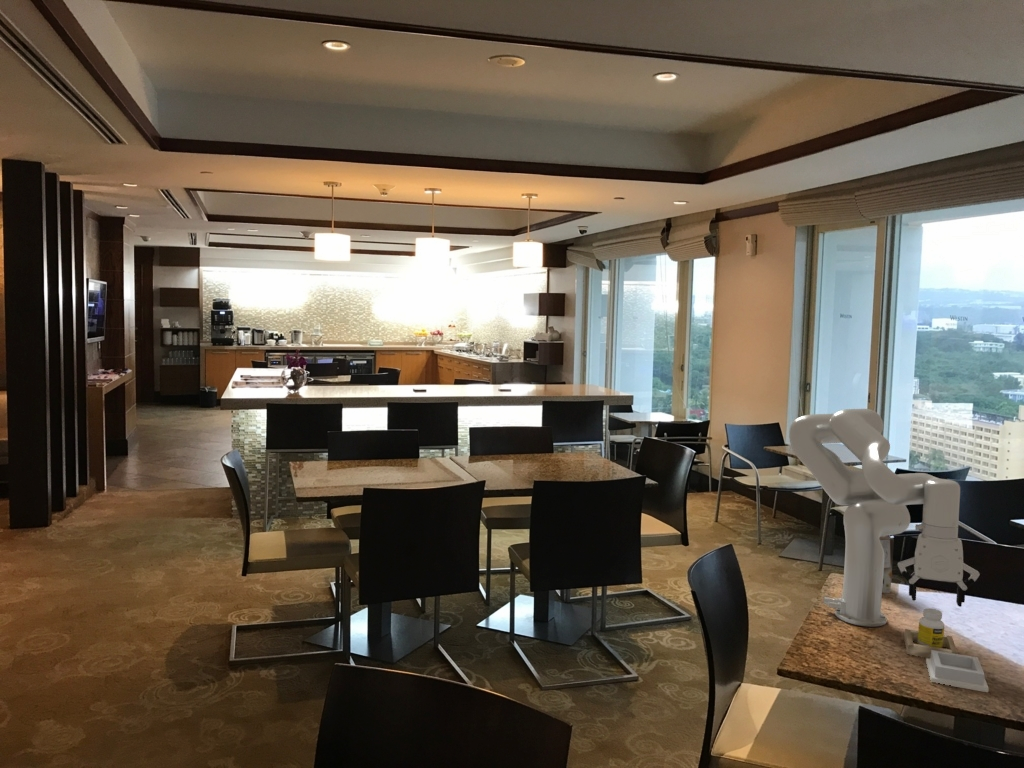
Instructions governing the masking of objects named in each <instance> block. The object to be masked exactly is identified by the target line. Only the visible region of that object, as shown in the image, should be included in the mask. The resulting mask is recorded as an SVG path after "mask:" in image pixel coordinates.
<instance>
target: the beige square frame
mask: <svg viewBox="0 0 1024 768" xmlns="http://www.w3.org/2000/svg"><path fill="white" fill-rule="evenodd" d="M903 640H904V645H906V646H905V650H907V651H906V655H907V654H910V655H909V656H912V655H917V656H916V657H918V656H922V657H921V658H924V657H927V658H928V659H930V658H931V650H935V651H941V652H947V653H954V654H959V652H958V650H957V647H956V644H955V642H954V641H955V640H954V638H953V635H952V636H951V635H946V634H944V636H943V646H944V647H942V648H937V647H931V646H925V645H919V644H917V640H918V630H914V629H908V628H904V634H903ZM913 641H914V642H913Z"/></svg>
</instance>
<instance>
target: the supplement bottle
mask: <svg viewBox="0 0 1024 768" xmlns="http://www.w3.org/2000/svg"><path fill="white" fill-rule="evenodd" d="M942 619H943V612H942V611H941V610H940V609H935V608H929V607H927V608H924V609H923V614H922V617H921V618H919V621H918V630H917V631H918V640H917V642H916V644H919V645H925V646H931V647H937V648H944V647H943V636H944V635H945V623H944V622H943V620H942Z"/></svg>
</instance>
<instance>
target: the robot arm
mask: <svg viewBox="0 0 1024 768" xmlns="http://www.w3.org/2000/svg"><path fill="white" fill-rule="evenodd" d="M883 430H884V422H883V419H882V416H880V414H879V413H878V412H877V411H875V410H873V409H869V408H849V409H848V408H847V409H841V410H838V411H836V412H834V413H816V414H815V413H814V414H806V415H801V416H800V417H796V419H794V420H793V421H792V422H791V424H790V427H789V431H788V433H789V434H788V438H789V443H790V446H791V449H792V452H793V453H794V455H795V456H796V458H797V459H798V460H799V461H800V462H801V463H802V464H803V466H804V467H806V469H807V470H808V471H809V472H810V473H811V474H812V476H813V477H814V479H815V480H816V481H817V483H818V484H819V485H820V487H821V488H822V489H823V490H824V492H825V493H826V494H827V496H829V499H831V500H832V501H833V502H834V503H835V504H836V505H839V506H847V507H846V508H845V510H844V513H843V518H842V519H843V526H844V527H843V528H844V536H845V537H844V539H845V550H844V570H843V581H842V583H843V584H842V593H841V594H840V597H836V598H834V597H833V598H832V597H828V596H824V597H823V605H827V606H828V608H835V609H834V615H835V616H836V617H837V619H839V620H841V621H843V622H846V623H848V624H852V625H855V626H860V627H869V628H870V627H872V628H873V627H876V628H877V627H882V626H884V625H886V624H887V620H888V619H887V616H886V615H885V614H884V613H882V612H881V610H882V601H883V600H882V599H883V598H882V597H883V593H882V587H883V573H884V550H883V547H882V545H881V542H880V539H879V537H881V536H893V535H900V534H903V533H904V532H905V531H906V530H908V528H909V526H910V524H911V515H910V512H909V509H908V508H907V506H908V505H909V506H910V505H923V506H922V521H921V523H919V524H915V529H914V530H916V531H919V532H920V533H919V534H918V536H917V540H916V545H915V551H914V556H913V557H910V558H908V559H905V560H902V561H898V562H897V567H898V569H899V572H900V573H901V576H902V577H903V578H905V580H906V581H907V582H909V583H908V596H910V597H911V600H912V601H914V602H915V601H916V600H917V589H918V585H917V581H918V580H919V579H923V580H931V581H938V582H947V583H956V584H957V588H956V600H955V601H956V605H957V606H958V607H960V608H962V607H963V605H962V604H963V603H965V599H966V591H967V590H968V588H970V587H972V586H973V585H974V584H975V582H976V581H977V580H978V578H979V577H980V574H981V573H980V572H979V571H978V570H977V569H975V568H973V567H971V566H969V565H968V564H966V563H965V562H964V550H963V541H962V540H961V538H959V535H958V534H959V522H960V521H959V520H960V519H959V517H960V504H961V503H960V499H961V486H960V484H959V482H957V481H955V480H951V479H946V478H939V477H936V476H933V475H931V474H928V473H925V472H915V473H911V472H910V473H899V474H896V473H895V472H894V471H893V470H891V468H890V467H888V466H887V465H886V464H885V462H883V461H884V460H885V458H886V457H887V456H888V454H889V452H890V450H891V444H890V441H889V440H888V439H887V438H886V437H885V436H884V435H882V433H883ZM827 444H843V446H845V448H846V449H847V450H849V451H850V452H851V453H852V454H853V455H854V456H855V457H856V458H857V459H858V460H859V461H860V462H861V468H860V469H854V468H853V469H851V468H849V467H848V466H847V465H846V464H845V463H844V462H843V461H842V460H841V458H840V456H838V455H837V454H836V453H835V452H834V451H833V450H831V449H829V448H827V447H826V446H825V445H827ZM912 565H913V570H914V571H913V572H912V573H911V574H910V573H909V572H908V571H907V569H906V568H907V567H909V566H912ZM964 571H965V572H967V573H968V574H969V575H970V576H969V577H968V578H966V579H965V580H963V577H964Z"/></svg>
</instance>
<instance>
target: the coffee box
mask: <svg viewBox="0 0 1024 768" xmlns="http://www.w3.org/2000/svg"><path fill="white" fill-rule="evenodd" d="M879 539H880V542H881V545H882V547H883V550H884V573H883V587H882V594H884V593H885V594H886V593H887V594H890V593H891V588H892V575H893V559H894V558H893V557H894V543H895V539H894V538H893V537H891V536H890V535H887V536H881V537H879Z"/></svg>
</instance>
